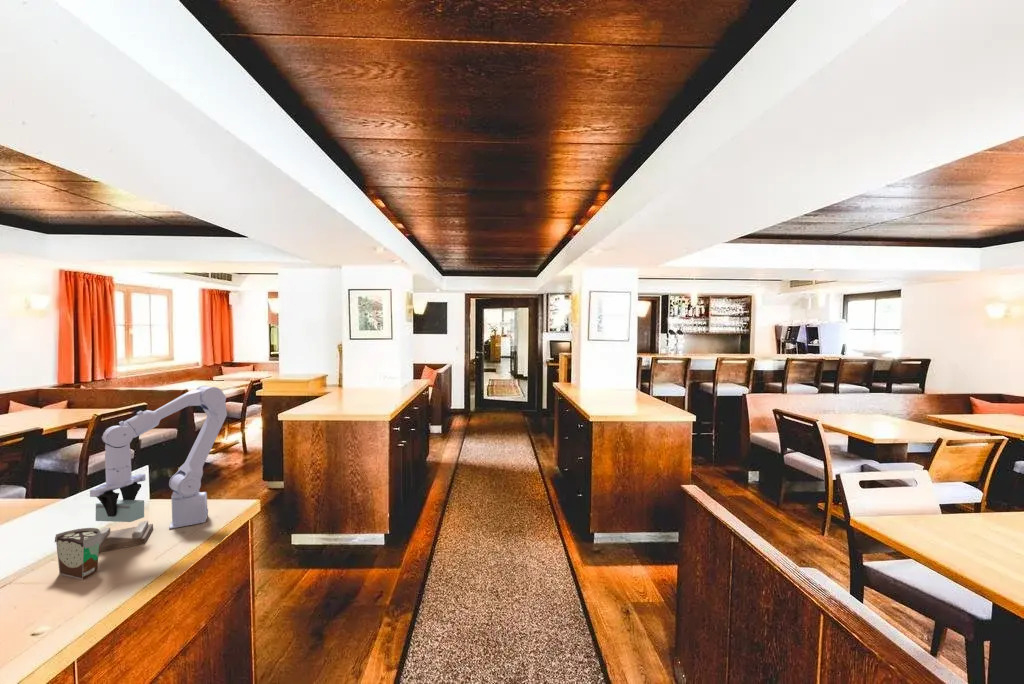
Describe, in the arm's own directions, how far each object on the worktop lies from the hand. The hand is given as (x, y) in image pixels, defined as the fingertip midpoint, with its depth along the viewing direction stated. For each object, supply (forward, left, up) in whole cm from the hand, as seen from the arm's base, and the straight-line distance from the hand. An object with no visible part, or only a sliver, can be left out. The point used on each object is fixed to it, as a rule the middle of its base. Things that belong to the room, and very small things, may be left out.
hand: (120, 512), depth 133 cm
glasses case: (0, 0, -2) cm, 2 cm away
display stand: (0, 0, -8) cm, 8 cm away
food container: (+3, +18, -9) cm, 20 cm away
